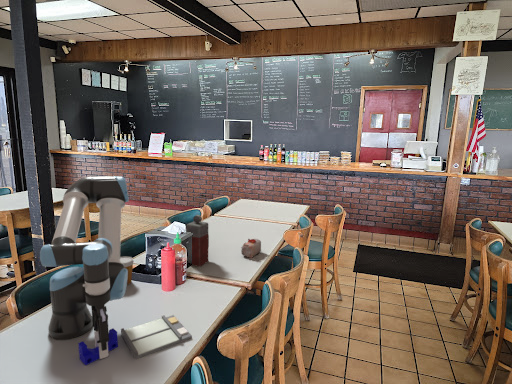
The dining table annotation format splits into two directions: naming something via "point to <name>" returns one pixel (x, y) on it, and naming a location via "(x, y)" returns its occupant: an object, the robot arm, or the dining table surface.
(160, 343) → the board
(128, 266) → the disposable coffee cup
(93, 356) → the cable clip
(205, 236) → the dark red bottle
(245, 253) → the food item
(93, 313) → the robot arm
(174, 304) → the dining table surface
